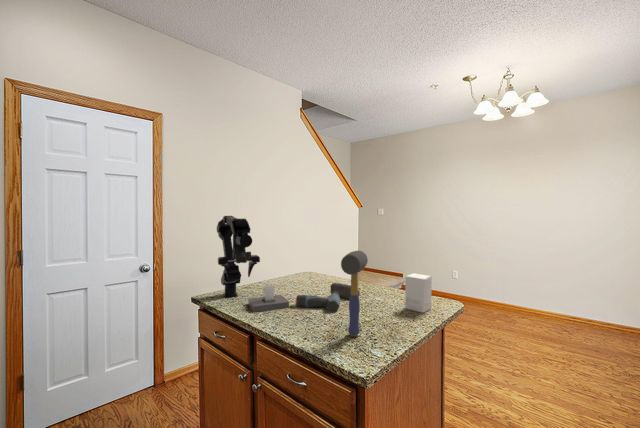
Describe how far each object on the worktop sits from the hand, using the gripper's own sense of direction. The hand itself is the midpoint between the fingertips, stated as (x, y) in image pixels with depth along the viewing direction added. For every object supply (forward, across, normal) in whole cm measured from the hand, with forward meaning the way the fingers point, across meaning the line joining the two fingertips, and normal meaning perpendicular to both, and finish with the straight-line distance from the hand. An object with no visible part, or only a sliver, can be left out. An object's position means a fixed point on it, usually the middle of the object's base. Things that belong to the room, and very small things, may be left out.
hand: (238, 277), depth 137 cm
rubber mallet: (+12, +32, -52) cm, 62 cm away
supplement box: (+12, +74, -39) cm, 85 cm away
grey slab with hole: (+12, +12, -9) cm, 19 cm away
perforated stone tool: (+12, +51, -12) cm, 54 cm away
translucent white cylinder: (+12, +12, -9) cm, 19 cm away
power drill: (+13, +35, -16) cm, 40 cm away
